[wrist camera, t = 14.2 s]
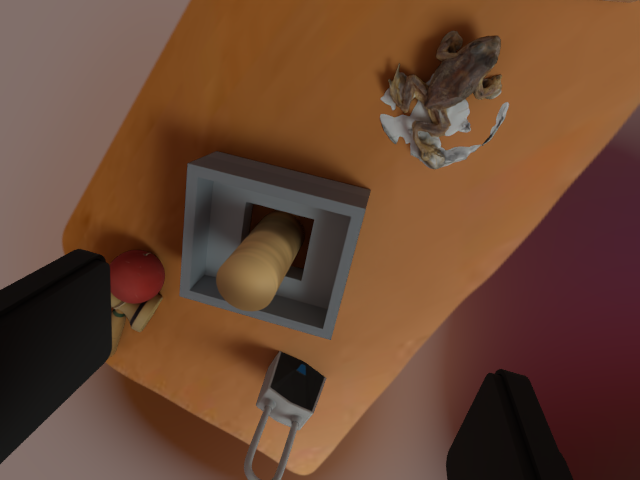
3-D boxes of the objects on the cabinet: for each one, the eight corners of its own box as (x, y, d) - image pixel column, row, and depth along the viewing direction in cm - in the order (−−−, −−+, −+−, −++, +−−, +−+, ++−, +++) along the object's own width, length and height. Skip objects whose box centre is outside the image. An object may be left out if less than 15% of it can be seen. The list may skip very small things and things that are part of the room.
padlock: (266, 370, 50) (216, 480, 36) (281, 348, 48) (233, 455, 35) (311, 396, 50) (278, 515, 37) (328, 375, 48) (299, 493, 35)
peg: (261, 206, 41) (217, 251, 31) (307, 216, 41) (278, 266, 31) (256, 248, 43) (214, 303, 34) (300, 258, 43) (271, 317, 33)
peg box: (216, 151, 40) (187, 163, 35) (370, 189, 39) (365, 208, 33) (205, 269, 46) (179, 296, 40) (339, 307, 44) (330, 339, 39)
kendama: (147, 353, 55) (189, 271, 45) (108, 384, 50) (146, 299, 40) (107, 316, 56) (139, 228, 46) (64, 343, 50) (91, 249, 41)
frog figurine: (439, -17, 32) (443, -28, 28) (545, 84, 33) (562, 85, 29) (347, 100, 36) (341, 103, 33) (443, 185, 38) (447, 196, 34)
